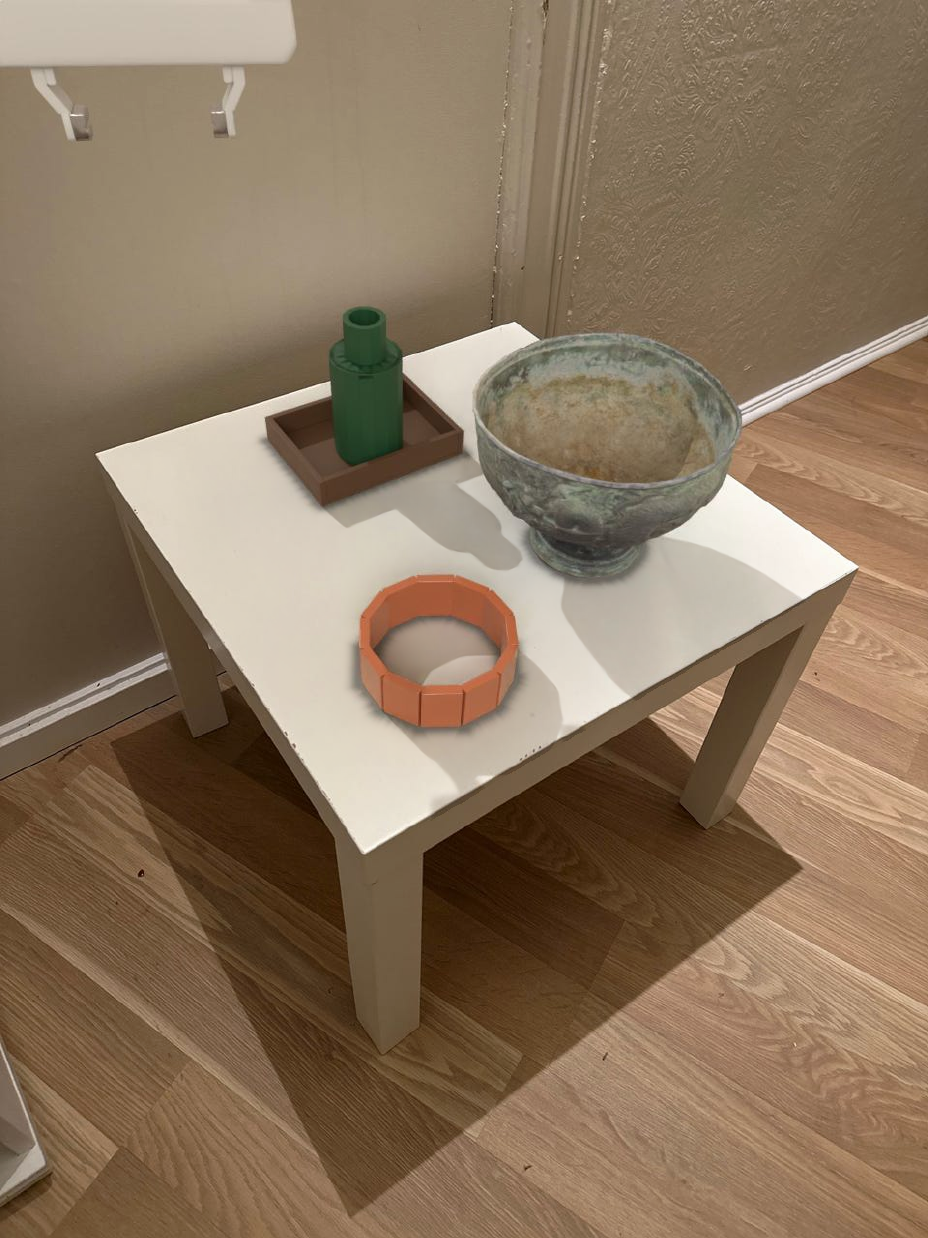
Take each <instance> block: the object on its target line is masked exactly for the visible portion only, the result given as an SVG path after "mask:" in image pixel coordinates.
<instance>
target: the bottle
mask: <svg viewBox="0 0 928 1238" xmlns="http://www.w3.org/2000/svg"><path fill="white" fill-rule="evenodd" d="M386 316H387V315H386V314H385V312H383V311H382V310H381V309H379V308H376V307H373V306H369V305H368V306H366V305H365V306H361V305H359V306H355V307H352V308H349V309H347V310H346V311H345V312H344V313H342V331H343V338H342V339H339V340H338V341H335V342H334V343H333V345H332V346H331V347H330V348H329V350H328V370H329V381H330V382H329V383H330V396H331V398H332V411H333V424H334V438H335V446H336V452H337V454H338V455H339V456H340V458H341V459H343V460H344V461H345V462H347V463H349V464H352V465H355V466H356V465H359V464H362V463H365V462H367V461H370V460H373V459H376V458H378V457H381V456H384V455H387V454H389V453H392V452H395V451H398V450H401V449H403V373H404V363H403V360H404V357H403V350H402V348H401V347H400V346H399V344H397V342H395V341H394V340H391V339H389V338H387V317H386Z"/></svg>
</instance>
